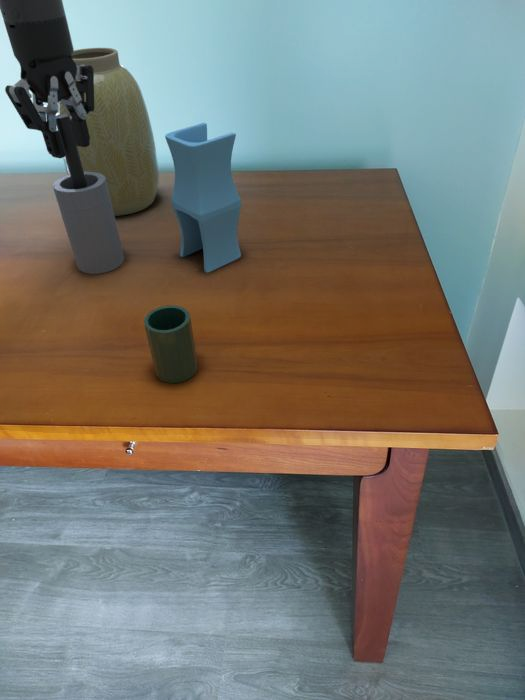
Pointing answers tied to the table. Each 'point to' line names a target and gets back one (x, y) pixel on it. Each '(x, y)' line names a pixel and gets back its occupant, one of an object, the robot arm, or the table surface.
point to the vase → (118, 133)
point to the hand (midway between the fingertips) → (70, 150)
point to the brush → (71, 151)
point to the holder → (171, 343)
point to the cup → (90, 223)
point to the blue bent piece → (205, 195)
